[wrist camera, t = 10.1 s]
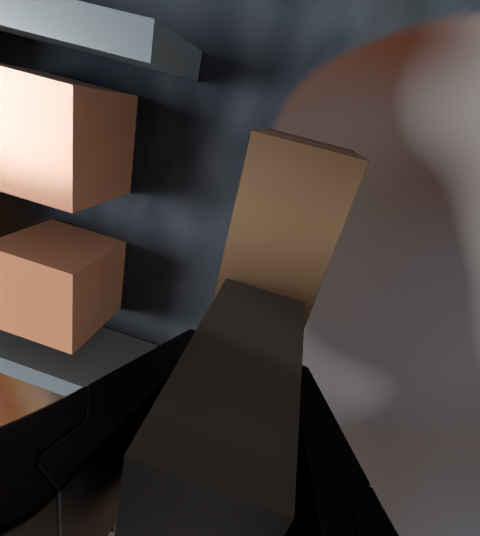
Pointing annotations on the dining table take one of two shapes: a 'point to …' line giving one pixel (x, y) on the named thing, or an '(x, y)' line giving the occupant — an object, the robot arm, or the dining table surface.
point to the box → (119, 49)
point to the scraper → (244, 356)
